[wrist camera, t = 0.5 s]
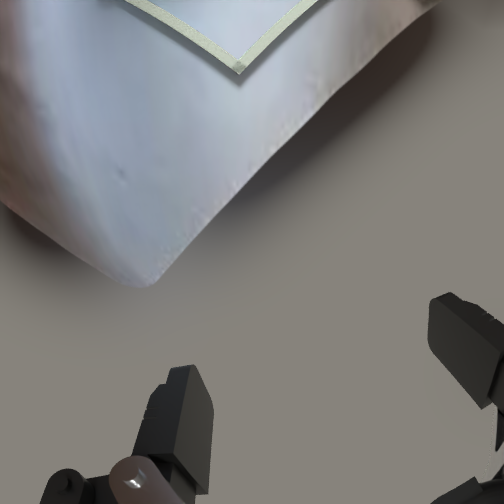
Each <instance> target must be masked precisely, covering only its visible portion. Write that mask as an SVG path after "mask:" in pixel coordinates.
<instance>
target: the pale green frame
mask: <svg viewBox="0 0 504 504" xmlns="http://www.w3.org/2000/svg"><path fill="white" fill-rule="evenodd" d="M124 1H126V2H128V3H130V4H132V5H134V6H135V7H137V8H139V9H141V10H143V11H144V12H146V13H148V14H150V15H151V16H153V17H155V18H156V19H158V20H160V21H161V22H163V23H165V24H166V25H168V26H170V27H171V28H173V29H174V30H176V31H177V32H179V33H181V34H182V35H184V36H185V37H187V38H188V39H190V40H191V41H193V42H194V43H196V44H197V45H199V46H200V47H201V48H203V49H204V50H206V51H207V52H209V53H210V54H211V55H213V56H214V57H216V58H217V59H218V60H220V61H221V62H222V63H224V64H225V65H226V66H228V67H229V68H230V69H232V70H233V71H234V72H236V73H237V74H238V75H240V74H241V73H242V71H243V70H244V69H245V68H246V67H247V66H248V65H249V64H250V63H251V62H252V61H253V60H254V59H255V58H256V57H257V56H258V55H259V54H260V53H261V52H262V51H263V50H264V49H265V48H266V47H267V46H268V45H269V44H270V43H271V42H272V41H273V40H274V39H275V38H276V37H277V36H278V35H279V34H280V33H281V32H282V31H284V30H285V29H286V28H287V27H288V26H289V25H290V24H291V23H292V22H293V21H295V20H296V19H297V18H298V17H299V16H300V15H301V14H302V13H304V12H305V11H306V10H307V9H308V8H309V7H311V6H312V5H313V4H314V3H315V2H317V1H318V0H301V1H300V2H299V3H298V4H297V5H295V6H294V7H293V8H292V9H291V10H290V11H289V12H287V13H286V14H285V15H284V16H283V17H282V18H281V19H280V20H278V21H277V22H276V23H275V24H274V25H273V26H272V27H271V28H270V29H269V30H268V31H267V32H266V33H265V34H264V35H263V36H262V37H260V38H259V39H258V40H257V41H256V42H255V43H254V44H253V45H252V46H251V47H250V48H249V49H248V50H247V51H246V52H245V54H244V55H243V56H242V57H241V58H240V59H239V60H237V59H236V58H235V57H233V56H232V55H231V54H229V53H228V52H227V51H225V50H224V49H222V48H221V47H220V46H218V45H217V44H215V43H214V42H213V41H211V40H210V39H208V38H207V37H205V36H204V35H203V34H201V33H200V32H198V31H197V30H195V29H194V28H192V27H191V26H189V25H187V24H186V23H184V22H183V21H181V20H180V19H178V18H176V17H175V16H173V15H172V14H170V13H168V12H167V11H165V10H163V9H162V8H160V7H158V6H156V5H155V4H153V3H151V2H149V1H148V0H124Z"/></svg>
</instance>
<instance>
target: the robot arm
mask: <svg viewBox="0 0 504 504" xmlns="http://www.w3.org/2000/svg"><path fill="white" fill-rule="evenodd" d="M428 344H429V347H430V349H431V351H432V352H433V354H434V355H435V356H436V357H437V358H438V359H439V360H440V361H441V363H442V364H443V365H444V366H445V367H446V368H447V369H448V371H449V372H450V373H451V374H452V375H453V376H454V377H455V379H456V380H457V381H458V382H459V383H460V384H461V385H462V387H463V388H464V389H465V390H466V392H467V393H468V394H469V395H470V396H471V397H472V399H473V400H474V401H475V402H476V404H477V405H478V406H479V407H480V408H481V409H483V408H485V407H486V406H488V405H489V404H491V403H492V402H493V403H494V404H495V405H496V406H495V409H494V413H493V430H492V441H491V450H490V458H489V462H488V465H487V467H486V470H485V472H484V475H483V478H482V481H481V483H478V481H477V479H476V478H475V477H473V478H471V479H470V480H468V481H466V482H465V483H463V484H462V485H460V486H458V487H456V488H455V489H453V490H451V491H449V492H447V493H446V494H444V495H442V496H440V497H438V498H437V499H436V500H434V501H433V502H432V503H431V504H504V324H502V323H501V322H500V321H498V320H497V319H494V317H493V316H492V315H490V314H489V313H488V314H487V312H486V311H485V310H484V309H482V308H481V307H479V306H478V305H476V304H473V303H470V302H467V301H463V300H461V299H460V298H459V297H457V296H456V295H454V294H453V293H451V292H448V293H446V294H444V295H441V296H439V297H436V298H434V299H432V300H431V301H430V304H429V322H428ZM213 418H214V409H213V404H212V400H211V397H210V395H209V393H208V391H207V389H206V387H205V385H204V383H203V380H202V378H201V376H200V374H199V372H198V370H197V368H196V366H195V365H187V366H181V367H174V368H171V369H170V371H169V375H168V378H167V381H166V384H160V385H159V386H158V387H157V388H156V390H155V391H154V392H153V393H152V394H151V396H150V398H149V402H148V404H147V410H145V414H144V420H142V423H141V426H140V429H139V432H138V436H137V439H136V442H135V445H134V449H133V452H132V455H131V456H130V457H127V458H124V459H122V460H121V461H119V462H118V463H116V465H115V466H114V467H113V468H112V470H111V472H110V474H109V475H105V476H99V477H94V478H89V479H85V478H84V477H83V476H82V475H81V474H80V473H79V472H77V471H76V470H73V469H62V470H60V471H58V472H56V473H55V474H53V475H52V476H51V478H50V479H49V480H48V483H47V485H46V488H45V490H44V493H43V496H42V498H41V501H40V504H195V496H196V495H202V494H208V488H209V473H210V458H211V444H212V443H211V442H212V430H213Z"/></svg>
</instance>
